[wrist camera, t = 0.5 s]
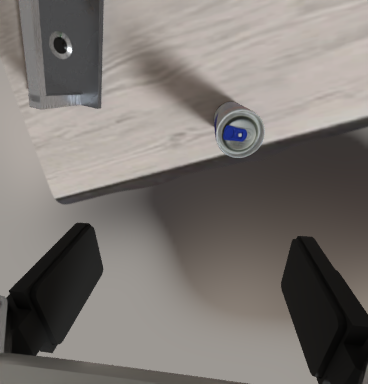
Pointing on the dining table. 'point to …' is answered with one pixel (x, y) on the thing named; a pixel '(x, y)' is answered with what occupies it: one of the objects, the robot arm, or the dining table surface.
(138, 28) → the dining table surface
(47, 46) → the bolt plate
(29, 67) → the dividers bar
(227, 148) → the beverage can
